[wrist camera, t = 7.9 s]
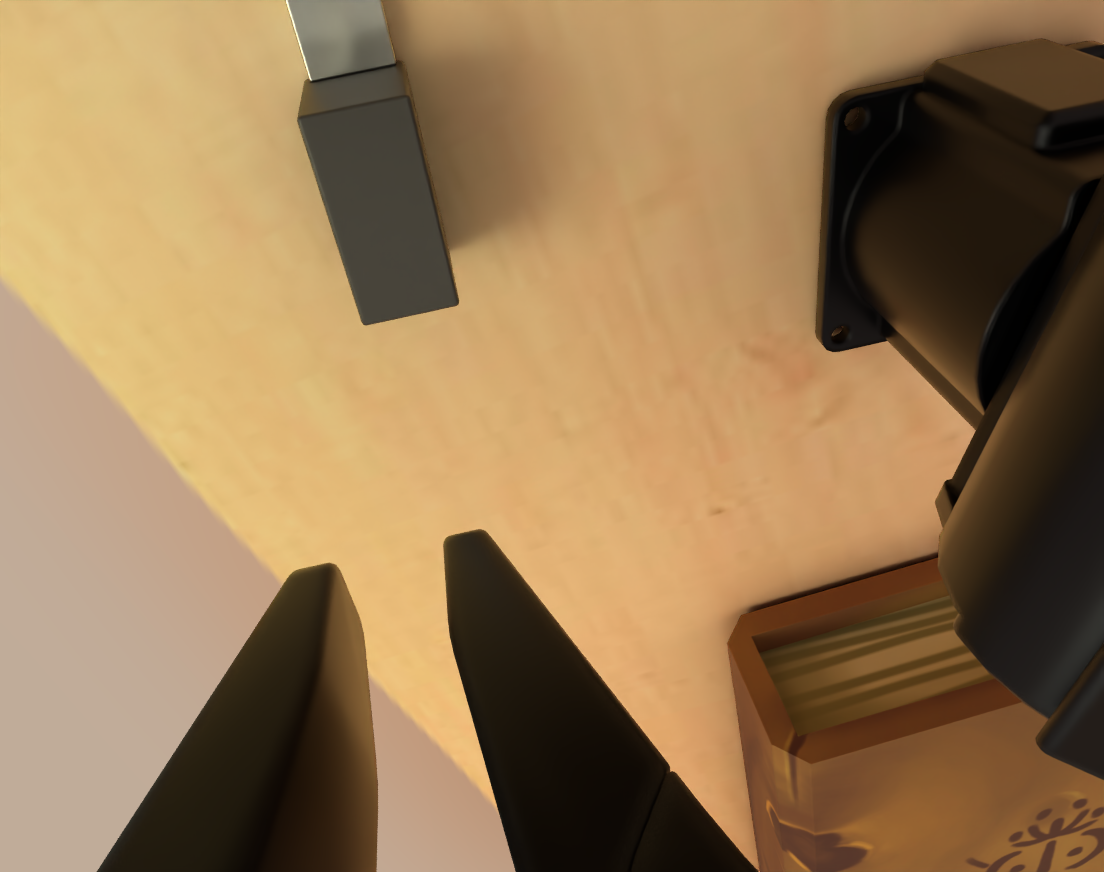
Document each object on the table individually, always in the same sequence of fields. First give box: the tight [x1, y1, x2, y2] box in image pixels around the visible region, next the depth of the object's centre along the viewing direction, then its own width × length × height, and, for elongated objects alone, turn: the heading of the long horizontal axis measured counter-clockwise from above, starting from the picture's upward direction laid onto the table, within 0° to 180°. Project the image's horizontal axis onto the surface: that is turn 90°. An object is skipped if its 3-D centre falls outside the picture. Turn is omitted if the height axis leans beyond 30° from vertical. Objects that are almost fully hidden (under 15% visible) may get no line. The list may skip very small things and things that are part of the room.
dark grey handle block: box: [285, 0, 459, 325], centre depth 16 cm, size 9×2×3 cm, turn 8°
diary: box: [727, 558, 1104, 872], centre depth 33 cm, size 23×19×6 cm
